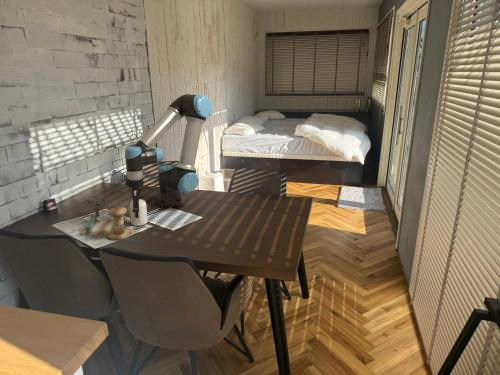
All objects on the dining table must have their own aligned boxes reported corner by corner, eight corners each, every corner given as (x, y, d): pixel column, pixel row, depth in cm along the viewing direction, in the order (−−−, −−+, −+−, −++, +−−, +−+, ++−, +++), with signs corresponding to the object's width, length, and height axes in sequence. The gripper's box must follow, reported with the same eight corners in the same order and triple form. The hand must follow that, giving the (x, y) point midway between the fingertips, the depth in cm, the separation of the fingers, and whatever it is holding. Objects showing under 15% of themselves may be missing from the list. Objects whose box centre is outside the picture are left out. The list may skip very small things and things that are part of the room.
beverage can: (138, 228, 173) (136, 205, 169) (127, 224, 177) (125, 202, 173) (151, 222, 179) (149, 200, 176) (140, 219, 183) (138, 197, 180)
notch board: (124, 220, 182) (123, 212, 180) (120, 232, 167) (120, 224, 166) (91, 222, 178) (90, 215, 177) (85, 236, 163) (84, 227, 162)
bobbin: (132, 230, 170) (129, 205, 166) (130, 239, 161) (127, 213, 157) (110, 232, 168) (107, 207, 164) (107, 241, 158) (104, 214, 154)
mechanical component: (104, 218, 184) (102, 200, 181) (87, 216, 186) (84, 199, 183) (107, 216, 187) (105, 198, 184) (90, 214, 189) (88, 197, 186)
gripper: (129, 172, 181) (133, 210, 188) (124, 186, 158) (128, 228, 164) (144, 171, 183) (147, 209, 189) (141, 185, 160) (145, 227, 166)
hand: (138, 218), depth 177 cm, fingers open, 13 cm apart
